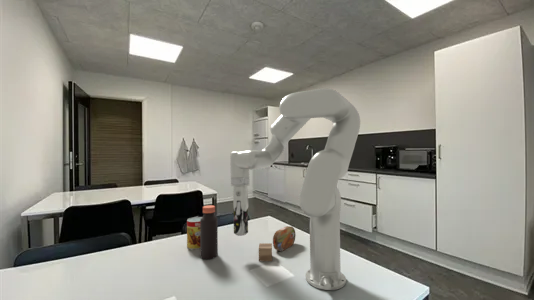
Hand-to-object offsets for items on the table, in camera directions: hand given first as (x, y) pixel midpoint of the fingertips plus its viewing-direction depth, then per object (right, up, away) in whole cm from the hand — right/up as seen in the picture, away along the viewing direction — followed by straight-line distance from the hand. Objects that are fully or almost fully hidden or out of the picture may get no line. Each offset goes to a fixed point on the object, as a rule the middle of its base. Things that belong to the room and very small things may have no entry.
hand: (240, 227), depth 94 cm
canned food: (-22, -13, +12) cm, 28 cm away
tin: (+18, -12, +9) cm, 24 cm away
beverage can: (0, -3, 0) cm, 3 cm away
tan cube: (+10, -12, -1) cm, 16 cm away
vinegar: (-13, -12, +1) cm, 18 cm away
